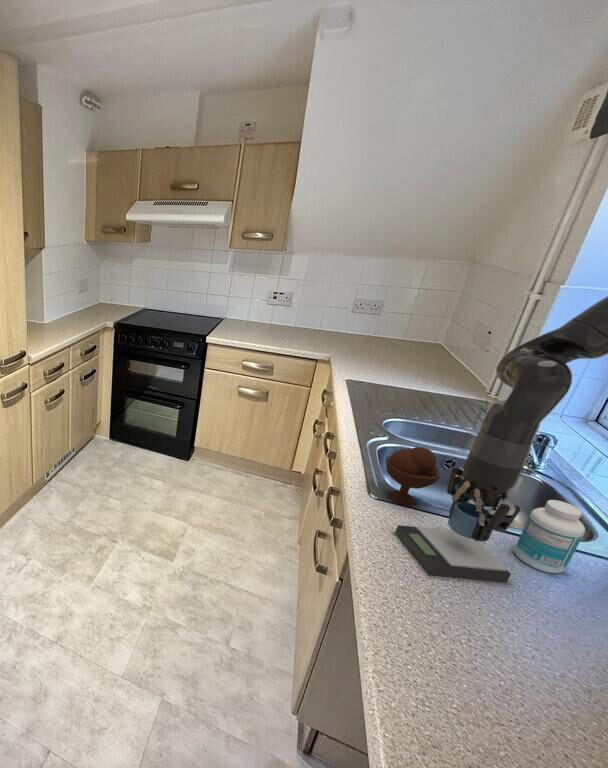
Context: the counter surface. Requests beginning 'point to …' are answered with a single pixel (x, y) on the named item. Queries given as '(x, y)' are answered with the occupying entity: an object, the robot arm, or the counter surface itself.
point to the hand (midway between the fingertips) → (466, 528)
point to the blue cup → (464, 519)
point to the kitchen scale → (451, 554)
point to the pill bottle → (550, 536)
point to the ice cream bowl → (411, 471)
